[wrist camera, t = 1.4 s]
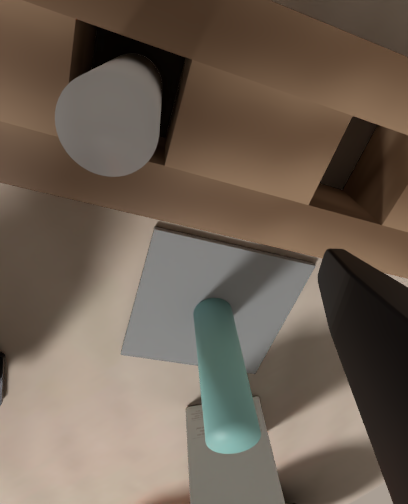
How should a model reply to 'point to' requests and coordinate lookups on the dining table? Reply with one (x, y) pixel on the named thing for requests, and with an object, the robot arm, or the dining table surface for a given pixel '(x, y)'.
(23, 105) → the hole block
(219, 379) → the teal peg
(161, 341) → the mat
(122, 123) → the grey peg
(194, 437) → the supplement box
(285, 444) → the dining table surface
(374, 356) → the robot arm
